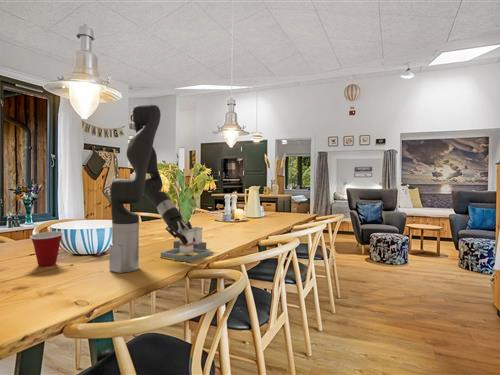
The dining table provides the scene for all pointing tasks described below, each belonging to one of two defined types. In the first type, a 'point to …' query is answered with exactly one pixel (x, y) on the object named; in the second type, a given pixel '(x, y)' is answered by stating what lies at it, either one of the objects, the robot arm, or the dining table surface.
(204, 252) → the tray
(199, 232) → the block
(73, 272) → the dining table surface
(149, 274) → the dining table surface
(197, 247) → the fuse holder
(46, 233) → the plastic cup
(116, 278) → the dining table surface
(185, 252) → the block
